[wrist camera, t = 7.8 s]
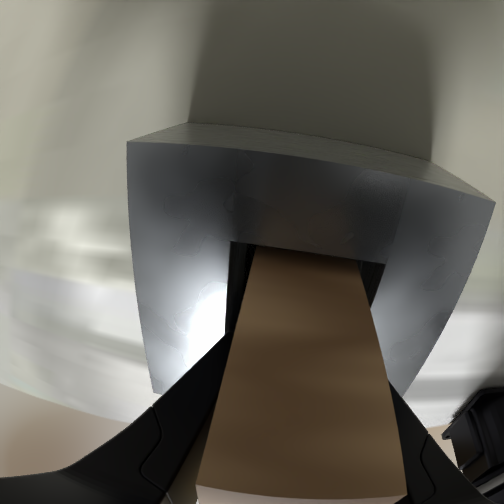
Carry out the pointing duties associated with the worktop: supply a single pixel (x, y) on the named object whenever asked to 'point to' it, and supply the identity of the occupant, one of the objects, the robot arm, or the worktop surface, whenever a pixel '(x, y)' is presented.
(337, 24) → the worktop surface
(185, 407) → the robot arm
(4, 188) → the worktop surface
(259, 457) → the tan rectangular block
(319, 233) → the grey square socket block
